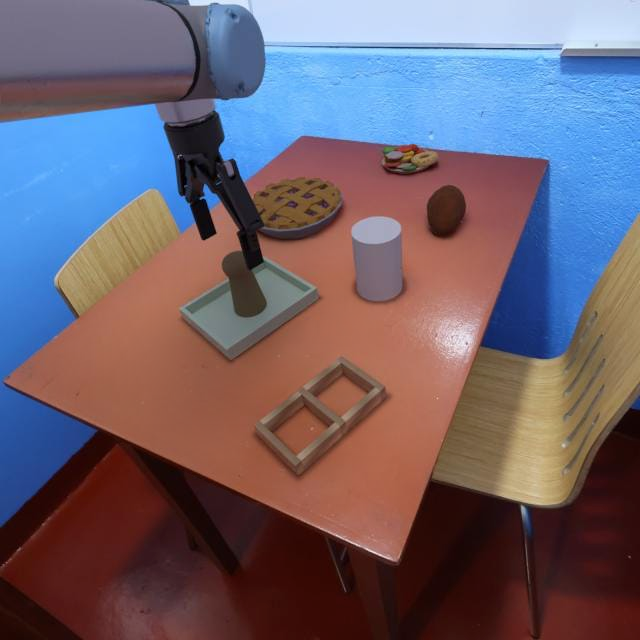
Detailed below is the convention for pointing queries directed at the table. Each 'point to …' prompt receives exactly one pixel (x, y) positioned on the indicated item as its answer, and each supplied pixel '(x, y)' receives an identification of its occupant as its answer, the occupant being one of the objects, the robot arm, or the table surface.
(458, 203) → the potato
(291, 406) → the two-slot wooden frame
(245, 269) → the brown pawn
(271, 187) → the pie
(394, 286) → the cup
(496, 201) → the table surface
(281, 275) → the tray
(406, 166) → the toy food set
